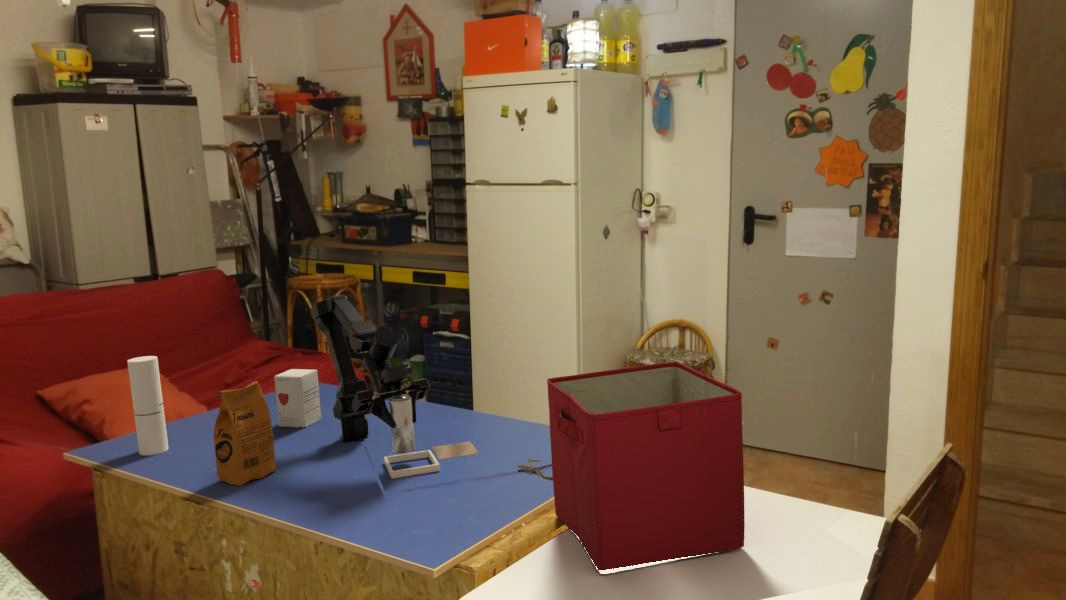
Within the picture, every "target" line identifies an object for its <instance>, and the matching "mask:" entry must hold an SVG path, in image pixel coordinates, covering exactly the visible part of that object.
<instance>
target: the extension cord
mask: <svg viewBox="0 0 1066 600" xmlns="http://www.w3.org/2000/svg"><path fill="white" fill-rule="evenodd" d="M543 461H546V459H542V458H534V459H532V458H528V461H527V462H528V463H535V462H536V463H537V462H543ZM549 466H552V463H551V464H547V465H545V466H543V467H540V468H538V470H537V468H536V466H535V465H531V464H518V465H517V468H522V469H517V472H522V473H535V474H537V476H538V477H541V476H542V477H543V479H547V480H553V476H547V475H544V474H543V472H542V470H543V469H545V468H547V467H549Z"/></svg>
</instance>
